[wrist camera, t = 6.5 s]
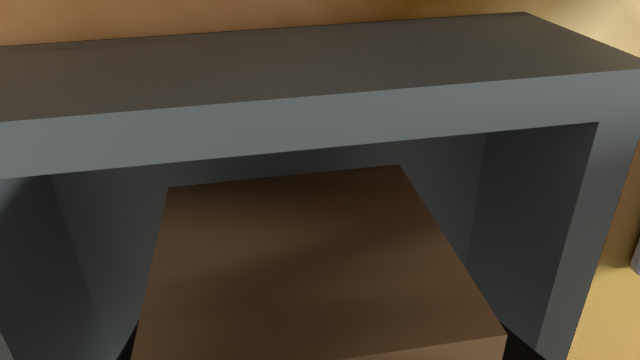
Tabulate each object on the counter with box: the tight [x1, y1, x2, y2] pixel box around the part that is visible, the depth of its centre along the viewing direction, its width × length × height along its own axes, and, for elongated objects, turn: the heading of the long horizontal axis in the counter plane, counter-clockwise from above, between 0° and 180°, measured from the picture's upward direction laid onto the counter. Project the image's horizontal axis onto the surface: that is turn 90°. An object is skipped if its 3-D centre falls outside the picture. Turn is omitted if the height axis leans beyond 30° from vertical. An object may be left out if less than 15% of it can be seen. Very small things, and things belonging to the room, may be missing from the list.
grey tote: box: [0, 12, 640, 360], centre depth 15 cm, size 14×18×5 cm
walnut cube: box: [131, 164, 508, 360], centre depth 10 cm, size 5×5×5 cm
